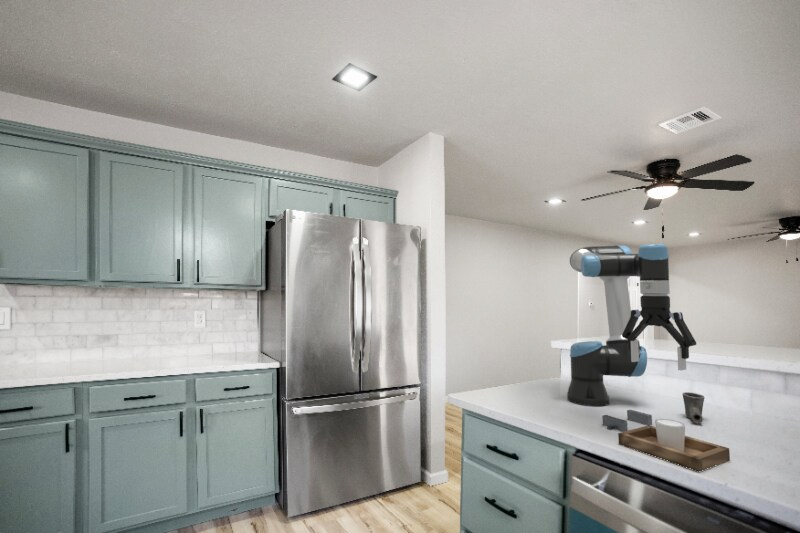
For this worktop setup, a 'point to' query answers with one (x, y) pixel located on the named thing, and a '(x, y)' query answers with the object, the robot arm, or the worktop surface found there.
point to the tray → (694, 455)
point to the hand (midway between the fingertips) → (657, 365)
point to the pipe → (693, 406)
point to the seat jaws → (622, 424)
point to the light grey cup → (670, 433)
